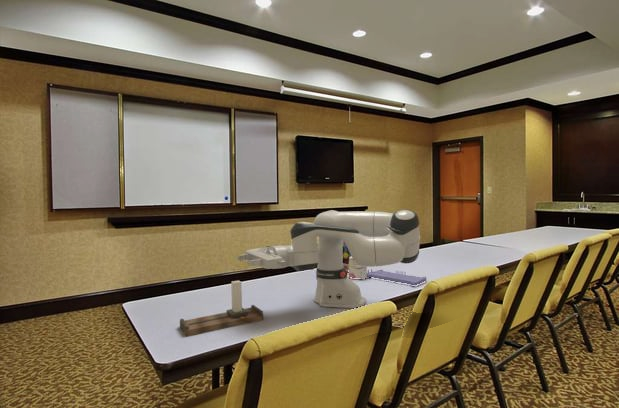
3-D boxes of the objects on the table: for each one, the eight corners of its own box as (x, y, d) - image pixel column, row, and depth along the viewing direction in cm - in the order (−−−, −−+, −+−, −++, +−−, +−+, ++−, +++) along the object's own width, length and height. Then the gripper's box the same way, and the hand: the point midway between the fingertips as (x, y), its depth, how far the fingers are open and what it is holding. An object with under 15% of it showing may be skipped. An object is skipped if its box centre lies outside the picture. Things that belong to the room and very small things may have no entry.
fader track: (253, 311, 142) (252, 304, 142) (263, 319, 134) (263, 311, 134) (179, 326, 128) (179, 318, 127) (186, 336, 119) (186, 327, 119)
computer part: (377, 273, 205) (362, 278, 194) (377, 266, 204) (362, 271, 194) (427, 282, 184) (414, 288, 173) (427, 274, 184) (414, 280, 173)
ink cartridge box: (348, 278, 193) (348, 251, 192) (352, 276, 197) (352, 250, 197) (363, 280, 188) (362, 252, 188) (367, 278, 192) (366, 251, 192)
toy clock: (329, 271, 211) (328, 237, 210) (331, 269, 216) (331, 236, 215) (362, 273, 204) (362, 238, 203) (364, 271, 209) (364, 237, 209)
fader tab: (241, 310, 138) (241, 278, 137) (247, 314, 132) (246, 282, 132) (226, 313, 134) (225, 281, 134) (232, 318, 129) (231, 284, 129)
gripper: (289, 270, 131) (254, 275, 123) (264, 260, 148) (232, 263, 140) (289, 253, 131) (254, 257, 123) (264, 245, 148) (233, 247, 140)
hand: (242, 260), depth 132 cm, fingers open, 8 cm apart
